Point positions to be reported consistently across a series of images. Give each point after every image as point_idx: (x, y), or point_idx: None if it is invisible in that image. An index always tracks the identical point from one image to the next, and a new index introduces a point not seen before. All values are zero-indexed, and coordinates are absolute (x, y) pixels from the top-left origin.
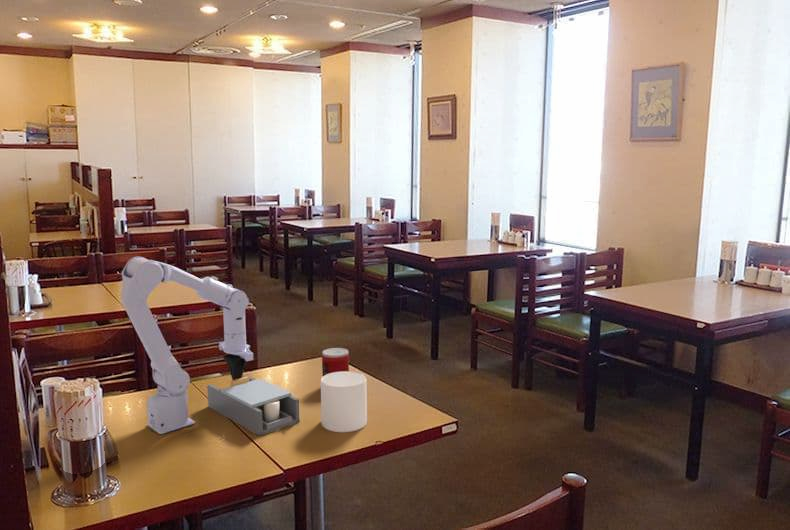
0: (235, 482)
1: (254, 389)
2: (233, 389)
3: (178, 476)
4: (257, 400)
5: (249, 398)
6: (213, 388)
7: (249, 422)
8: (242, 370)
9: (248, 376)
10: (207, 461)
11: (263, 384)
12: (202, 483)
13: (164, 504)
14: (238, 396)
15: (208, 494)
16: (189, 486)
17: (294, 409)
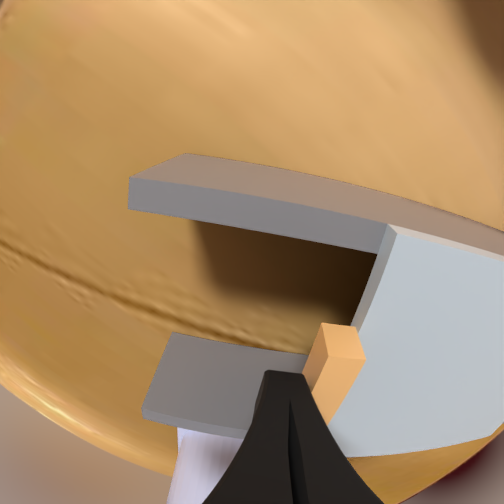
0: (484, 444)
1: (459, 381)
2: (352, 436)
3: (403, 480)
4: (501, 414)
5: (470, 426)
6: (209, 431)
7: None
8: (327, 441)
9: (194, 196)
10: (422, 457)
11: (480, 308)
12: (444, 467)
13: (422, 490)
14: (422, 445)
15: (461, 465)
16: (431, 476)
17: None
